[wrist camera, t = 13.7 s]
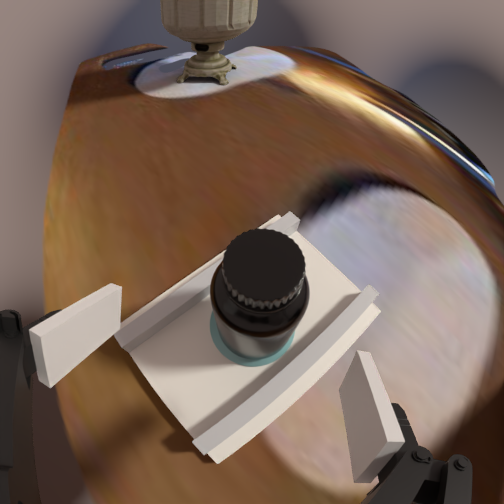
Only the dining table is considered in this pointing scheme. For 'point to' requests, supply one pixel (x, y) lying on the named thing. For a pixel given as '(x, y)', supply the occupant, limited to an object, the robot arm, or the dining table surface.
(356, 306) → the rail cradle
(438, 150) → the dining table surface
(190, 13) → the samovar
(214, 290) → the supplement bottle
